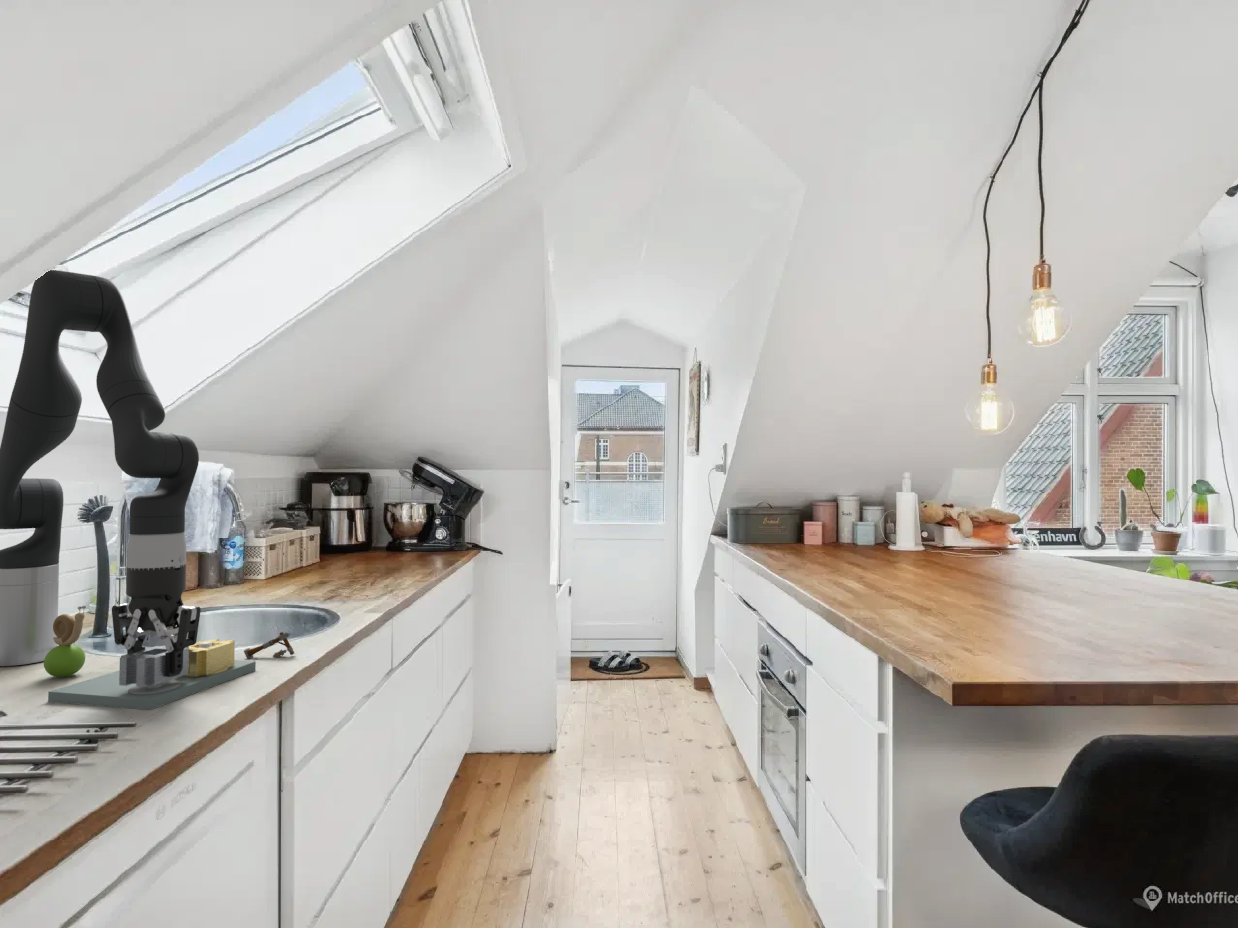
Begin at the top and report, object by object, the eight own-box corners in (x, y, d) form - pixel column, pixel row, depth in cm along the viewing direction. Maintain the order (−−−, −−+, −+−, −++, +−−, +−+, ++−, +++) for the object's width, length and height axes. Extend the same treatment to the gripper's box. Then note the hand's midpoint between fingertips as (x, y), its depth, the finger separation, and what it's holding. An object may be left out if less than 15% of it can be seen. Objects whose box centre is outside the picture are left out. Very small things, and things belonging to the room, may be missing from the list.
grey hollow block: (114, 684, 100) (114, 657, 100) (160, 669, 108) (161, 644, 108) (148, 687, 99) (149, 659, 99) (193, 672, 107) (193, 646, 107)
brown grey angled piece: (297, 652, 127) (286, 629, 127) (253, 672, 126) (242, 649, 126) (300, 650, 129) (289, 627, 129) (257, 669, 128) (246, 647, 127)
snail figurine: (64, 682, 111) (66, 608, 111) (34, 680, 112) (36, 607, 113) (97, 673, 116) (99, 603, 116) (68, 671, 118) (70, 601, 118)
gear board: (48, 701, 101) (49, 661, 102) (167, 664, 122) (168, 630, 122) (149, 709, 98) (150, 667, 98) (255, 670, 118) (255, 635, 119)
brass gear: (169, 675, 109) (169, 650, 109) (208, 662, 117) (208, 638, 117) (201, 677, 108) (201, 651, 108) (238, 663, 116) (239, 640, 116)
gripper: (94, 564, 101) (92, 678, 101) (176, 567, 99) (174, 684, 98) (139, 559, 109) (137, 665, 108) (216, 561, 106) (215, 670, 106)
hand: (154, 673), depth 103 cm, fingers closed on grey hollow block, 6 cm apart
